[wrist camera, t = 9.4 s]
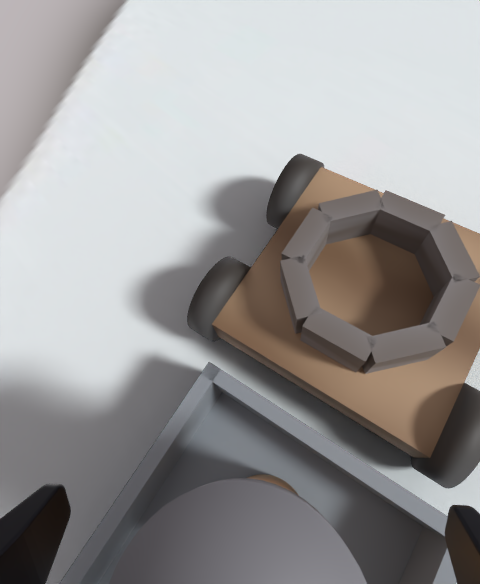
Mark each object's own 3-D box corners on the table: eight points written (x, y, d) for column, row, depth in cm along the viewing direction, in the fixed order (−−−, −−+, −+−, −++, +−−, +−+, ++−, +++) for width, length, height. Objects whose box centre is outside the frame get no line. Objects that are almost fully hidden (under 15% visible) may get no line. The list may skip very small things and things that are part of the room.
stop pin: (282, 614, 15) (288, 965, 5) (190, 539, 16) (37, 687, 6) (337, 505, 16) (434, 595, 6) (247, 443, 17) (200, 430, 7)
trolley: (428, 484, 17) (483, 495, 12) (197, 338, 20) (172, 304, 16) (517, 283, 20) (588, 230, 15) (302, 187, 23) (307, 121, 19)
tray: (305, 827, 13) (312, 949, 10) (75, 599, 16) (24, 634, 13) (437, 518, 16) (475, 534, 13) (221, 377, 19) (208, 361, 16)
